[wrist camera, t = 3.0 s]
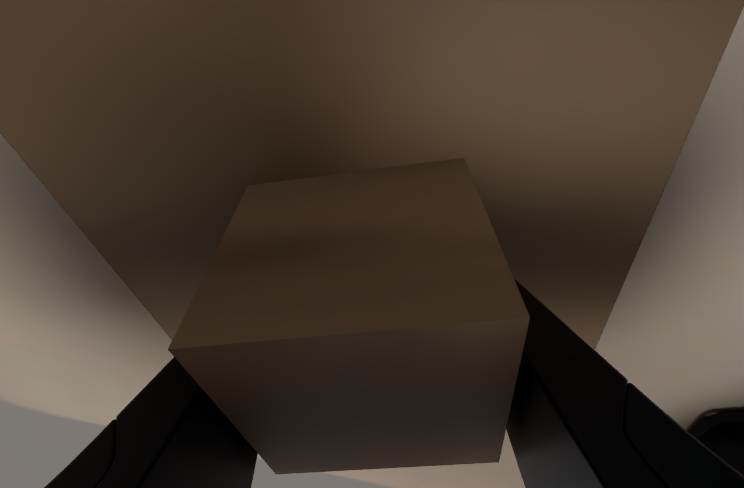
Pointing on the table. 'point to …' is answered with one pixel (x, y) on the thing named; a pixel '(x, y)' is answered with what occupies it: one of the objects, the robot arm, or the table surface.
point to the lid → (360, 191)
